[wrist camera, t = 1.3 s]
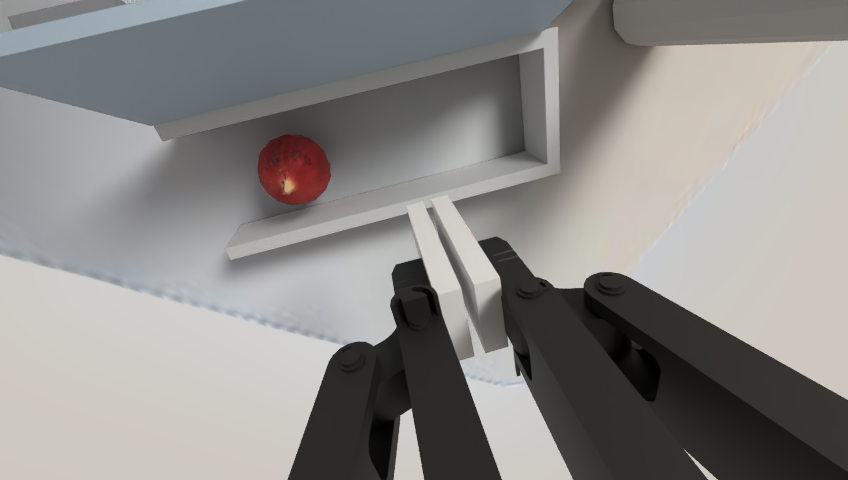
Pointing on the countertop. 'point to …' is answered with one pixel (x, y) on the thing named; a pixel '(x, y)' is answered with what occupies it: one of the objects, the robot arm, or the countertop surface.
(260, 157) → the onion
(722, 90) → the countertop surface
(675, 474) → the robot arm
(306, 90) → the grey tray
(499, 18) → the cover
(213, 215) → the countertop surface
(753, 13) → the water bottle
